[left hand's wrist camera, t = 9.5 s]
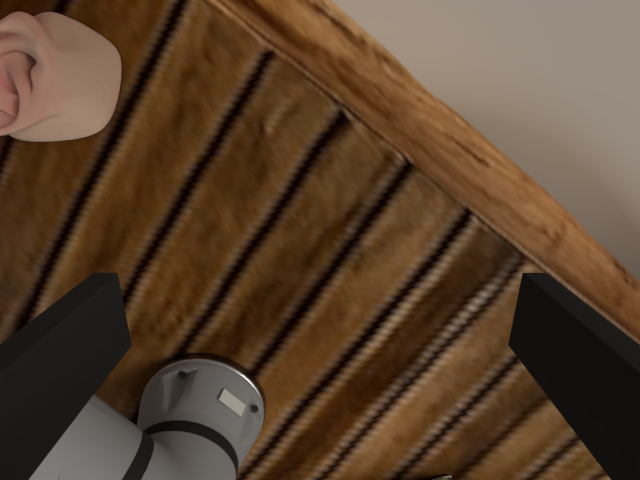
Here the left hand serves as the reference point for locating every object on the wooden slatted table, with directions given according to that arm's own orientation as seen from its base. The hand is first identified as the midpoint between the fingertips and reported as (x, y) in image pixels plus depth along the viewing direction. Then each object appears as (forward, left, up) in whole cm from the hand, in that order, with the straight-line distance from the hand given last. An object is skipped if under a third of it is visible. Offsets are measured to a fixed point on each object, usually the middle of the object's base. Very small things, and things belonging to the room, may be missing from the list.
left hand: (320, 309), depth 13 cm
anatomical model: (-6, +26, -28) cm, 39 cm away
